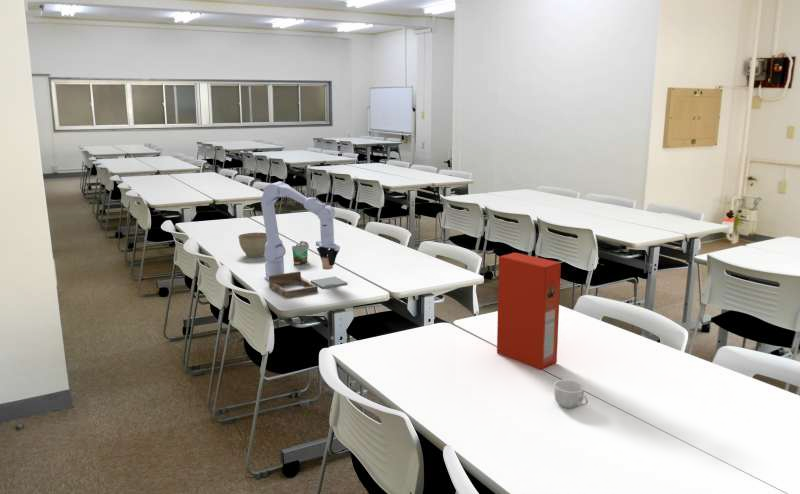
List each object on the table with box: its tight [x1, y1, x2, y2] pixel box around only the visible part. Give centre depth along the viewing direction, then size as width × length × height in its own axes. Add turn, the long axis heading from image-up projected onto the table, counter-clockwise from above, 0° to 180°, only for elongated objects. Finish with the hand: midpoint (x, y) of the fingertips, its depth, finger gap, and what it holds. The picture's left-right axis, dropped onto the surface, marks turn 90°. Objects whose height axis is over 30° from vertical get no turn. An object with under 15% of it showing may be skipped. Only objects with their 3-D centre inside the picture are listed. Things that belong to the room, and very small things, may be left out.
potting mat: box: [310, 275, 348, 290], centre depth 283 cm, size 12×12×1 cm
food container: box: [291, 240, 310, 266], centre depth 317 cm, size 12×6×10 cm, turn 168°
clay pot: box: [321, 255, 334, 271], centre depth 281 cm, size 5×5×5 cm
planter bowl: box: [238, 232, 267, 258], centre depth 334 cm, size 16×16×11 cm
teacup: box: [553, 379, 589, 409], centre depth 169 cm, size 10×8×5 cm
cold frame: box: [268, 270, 319, 299], centre depth 274 cm, size 18×14×5 cm
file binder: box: [496, 252, 562, 371], centre depth 197 cm, size 8×17×32 cm, turn 40°
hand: (328, 264), depth 282 cm, fingers closed on clay pot, 5 cm apart
